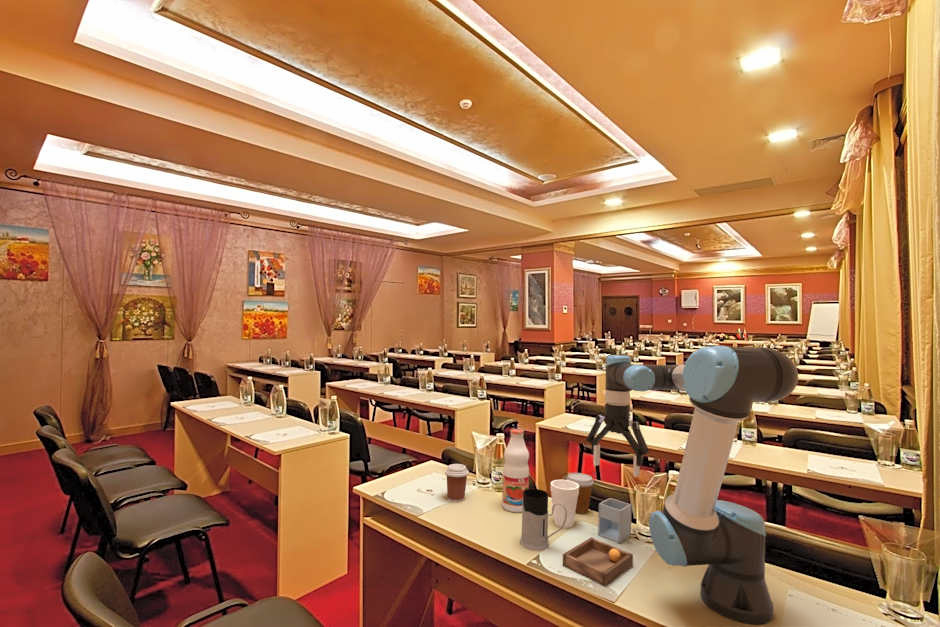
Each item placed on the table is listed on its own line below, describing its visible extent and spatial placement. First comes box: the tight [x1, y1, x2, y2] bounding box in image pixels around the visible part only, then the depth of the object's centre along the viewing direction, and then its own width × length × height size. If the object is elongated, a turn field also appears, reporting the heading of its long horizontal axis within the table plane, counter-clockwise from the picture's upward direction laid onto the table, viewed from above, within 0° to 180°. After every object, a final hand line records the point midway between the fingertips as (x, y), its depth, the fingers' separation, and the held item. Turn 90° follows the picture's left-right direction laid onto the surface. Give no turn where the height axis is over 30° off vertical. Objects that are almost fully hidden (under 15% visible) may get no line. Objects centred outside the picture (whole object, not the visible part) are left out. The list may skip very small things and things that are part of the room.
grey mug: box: [519, 488, 567, 551], centre depth 132 cm, size 9×14×15 cm, turn 59°
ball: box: [609, 549, 621, 562], centre depth 123 cm, size 3×3×3 cm
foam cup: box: [550, 479, 579, 529], centre depth 148 cm, size 10×9×13 cm
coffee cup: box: [444, 463, 470, 503], centre depth 166 cm, size 9×9×12 cm
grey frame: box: [597, 497, 632, 545], centre depth 140 cm, size 7×7×10 cm
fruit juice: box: [501, 428, 530, 513], centre depth 160 cm, size 9×9×28 cm
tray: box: [562, 537, 634, 587], centre depth 122 cm, size 13×15×3 cm
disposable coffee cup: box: [566, 472, 595, 515], centre depth 159 cm, size 10×10×12 cm
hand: (615, 470), depth 140 cm, fingers open, 13 cm apart
